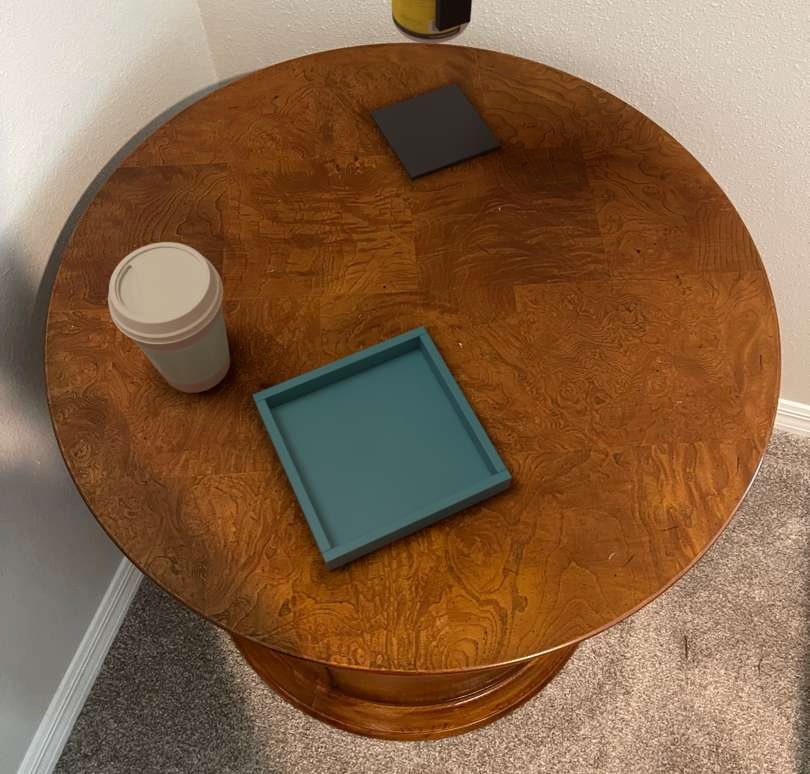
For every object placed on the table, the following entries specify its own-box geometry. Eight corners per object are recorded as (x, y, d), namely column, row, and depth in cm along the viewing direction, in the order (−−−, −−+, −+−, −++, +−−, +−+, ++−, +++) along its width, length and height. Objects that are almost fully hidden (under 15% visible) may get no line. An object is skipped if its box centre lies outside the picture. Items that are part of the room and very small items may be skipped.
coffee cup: (166, 315, 74) (126, 228, 63) (258, 331, 73) (232, 245, 62) (132, 397, 70) (82, 318, 59) (228, 415, 69) (195, 338, 58)
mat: (500, 147, 84) (501, 145, 83) (411, 180, 82) (411, 177, 81) (455, 86, 88) (455, 83, 88) (370, 115, 86) (370, 112, 86)
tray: (509, 488, 66) (512, 477, 64) (328, 571, 62) (325, 562, 60) (422, 339, 72) (423, 325, 71) (256, 407, 69) (252, 394, 67)
